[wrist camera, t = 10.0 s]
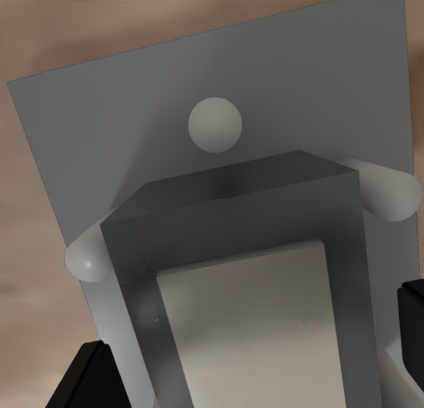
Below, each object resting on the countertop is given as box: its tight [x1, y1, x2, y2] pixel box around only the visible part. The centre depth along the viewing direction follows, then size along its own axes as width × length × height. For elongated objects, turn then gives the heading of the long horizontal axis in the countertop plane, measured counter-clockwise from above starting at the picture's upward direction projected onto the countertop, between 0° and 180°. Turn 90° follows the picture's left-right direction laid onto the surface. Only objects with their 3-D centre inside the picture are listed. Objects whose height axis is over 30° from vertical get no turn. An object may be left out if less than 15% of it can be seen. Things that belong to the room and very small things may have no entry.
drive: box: [99, 150, 382, 408], centre depth 11 cm, size 11×6×5 cm, turn 12°
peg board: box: [7, 0, 424, 408], centre depth 12 cm, size 20×14×5 cm
